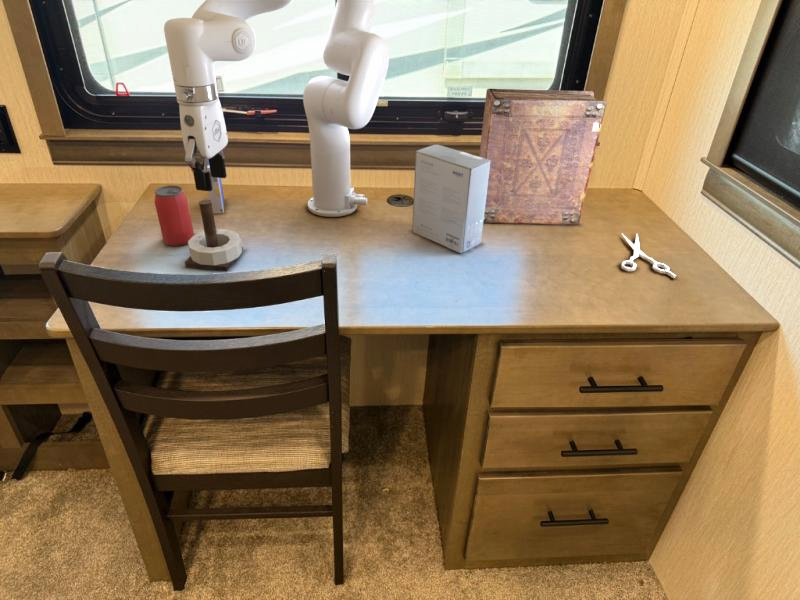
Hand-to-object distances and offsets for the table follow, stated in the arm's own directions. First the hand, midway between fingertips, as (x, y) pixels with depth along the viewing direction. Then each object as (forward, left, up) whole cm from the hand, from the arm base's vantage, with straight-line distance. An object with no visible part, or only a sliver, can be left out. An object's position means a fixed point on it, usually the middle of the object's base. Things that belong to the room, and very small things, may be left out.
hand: (211, 182), depth 114 cm
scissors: (-92, -17, -16) cm, 95 cm away
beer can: (+11, -2, -16) cm, 20 cm away
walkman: (+10, -21, -16) cm, 28 cm away
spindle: (0, +4, -16) cm, 16 cm away
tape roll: (0, +4, -14) cm, 15 cm away
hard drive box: (-48, -16, -16) cm, 53 cm away
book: (-67, -32, -16) cm, 76 cm away
